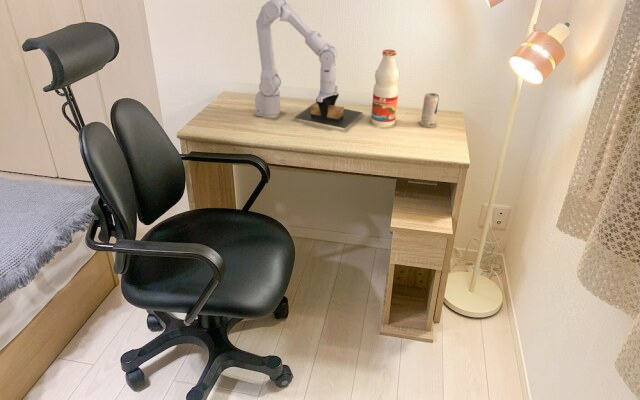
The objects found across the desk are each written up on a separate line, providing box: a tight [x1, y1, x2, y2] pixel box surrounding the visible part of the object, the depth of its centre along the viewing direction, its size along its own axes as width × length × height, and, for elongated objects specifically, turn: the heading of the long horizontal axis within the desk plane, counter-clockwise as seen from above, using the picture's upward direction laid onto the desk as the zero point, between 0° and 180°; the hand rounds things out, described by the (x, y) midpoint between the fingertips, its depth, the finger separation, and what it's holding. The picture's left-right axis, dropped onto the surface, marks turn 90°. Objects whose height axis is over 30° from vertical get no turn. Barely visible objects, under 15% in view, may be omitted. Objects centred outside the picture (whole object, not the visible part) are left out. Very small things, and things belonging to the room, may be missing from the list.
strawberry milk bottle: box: [370, 49, 400, 126], centre depth 180 cm, size 9×9×28 cm
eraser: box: [310, 101, 345, 122], centre depth 188 cm, size 12×5×4 cm, turn 64°
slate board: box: [294, 104, 364, 129], centre depth 191 cm, size 22×18×1 cm
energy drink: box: [420, 92, 440, 128], centre depth 184 cm, size 5×5×12 cm
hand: (327, 113), depth 189 cm, fingers closed on eraser, 5 cm apart
